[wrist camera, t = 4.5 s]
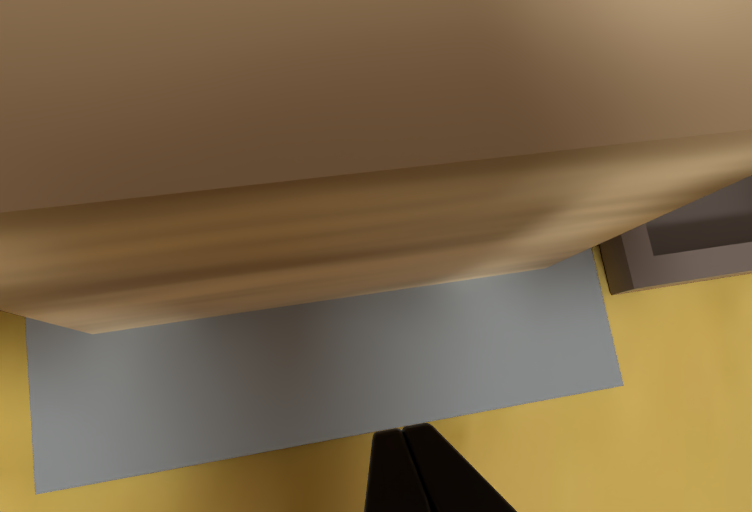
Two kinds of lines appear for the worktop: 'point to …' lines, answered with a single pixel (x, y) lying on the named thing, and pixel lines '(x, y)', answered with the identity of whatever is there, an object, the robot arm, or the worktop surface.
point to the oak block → (344, 144)
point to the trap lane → (355, 356)
